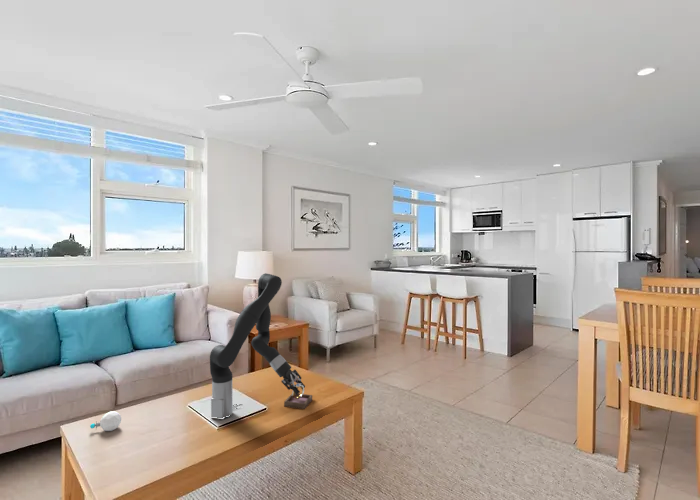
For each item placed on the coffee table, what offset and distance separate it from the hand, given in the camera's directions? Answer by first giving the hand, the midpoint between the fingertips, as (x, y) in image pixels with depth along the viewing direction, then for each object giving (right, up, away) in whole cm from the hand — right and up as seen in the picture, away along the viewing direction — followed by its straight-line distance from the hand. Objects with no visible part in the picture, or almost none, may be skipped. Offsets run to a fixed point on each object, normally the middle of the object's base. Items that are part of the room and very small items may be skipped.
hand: (301, 390), depth 192 cm
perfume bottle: (-82, -7, -28) cm, 87 cm away
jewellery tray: (-1, -7, +1) cm, 7 cm away
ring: (-2, -5, 0) cm, 5 cm away
